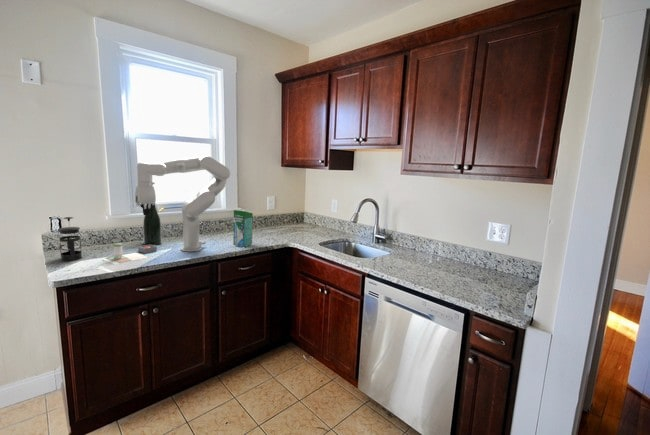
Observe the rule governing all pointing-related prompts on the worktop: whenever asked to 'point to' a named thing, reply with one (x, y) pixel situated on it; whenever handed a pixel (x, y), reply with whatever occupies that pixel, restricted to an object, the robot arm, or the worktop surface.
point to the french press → (70, 243)
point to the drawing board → (125, 258)
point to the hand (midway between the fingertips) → (146, 215)
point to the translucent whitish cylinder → (117, 250)
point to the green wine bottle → (152, 227)
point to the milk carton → (242, 228)
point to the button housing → (147, 249)
